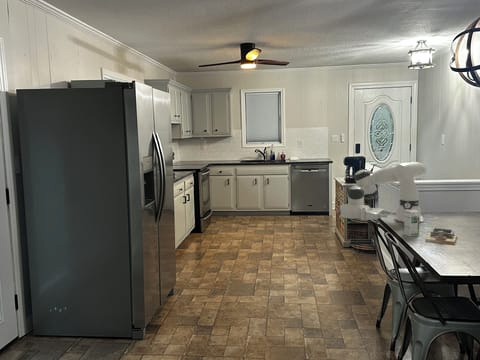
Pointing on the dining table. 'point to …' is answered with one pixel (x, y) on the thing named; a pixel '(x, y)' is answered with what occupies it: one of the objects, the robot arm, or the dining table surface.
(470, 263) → the dining table surface
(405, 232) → the syrup box
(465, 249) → the dining table surface
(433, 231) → the socket board
